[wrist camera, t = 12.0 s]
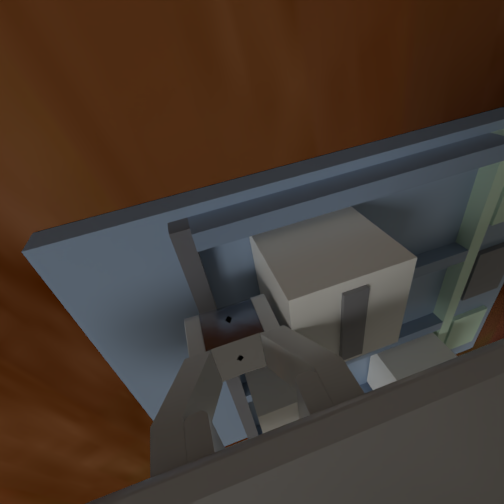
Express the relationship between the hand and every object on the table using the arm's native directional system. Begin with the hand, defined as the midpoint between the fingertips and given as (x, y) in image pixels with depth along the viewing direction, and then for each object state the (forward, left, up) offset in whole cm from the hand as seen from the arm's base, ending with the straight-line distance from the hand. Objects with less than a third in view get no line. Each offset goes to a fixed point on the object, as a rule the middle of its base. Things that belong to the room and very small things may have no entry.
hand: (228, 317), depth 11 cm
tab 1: (+4, 0, -2) cm, 4 cm away
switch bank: (+6, -5, -3) cm, 9 cm away
